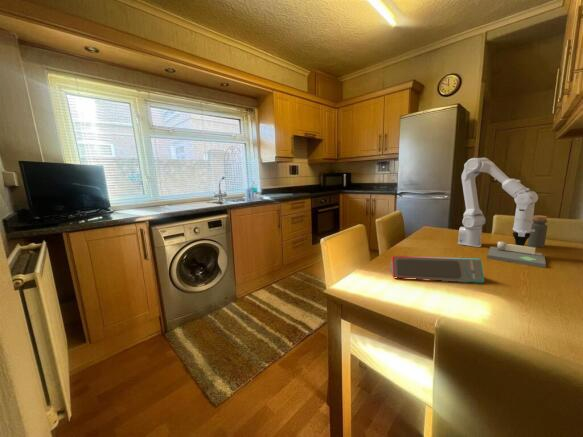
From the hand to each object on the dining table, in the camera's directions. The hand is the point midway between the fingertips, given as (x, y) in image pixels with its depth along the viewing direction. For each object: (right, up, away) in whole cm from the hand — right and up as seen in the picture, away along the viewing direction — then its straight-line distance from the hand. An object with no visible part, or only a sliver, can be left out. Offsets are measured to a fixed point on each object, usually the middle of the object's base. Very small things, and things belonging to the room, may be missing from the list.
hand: (519, 248), depth 108 cm
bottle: (+19, 0, +11) cm, 22 cm away
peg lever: (-1, -1, -1) cm, 2 cm away
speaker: (-48, -9, -16) cm, 52 cm away
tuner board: (-4, -4, -2) cm, 6 cm away
